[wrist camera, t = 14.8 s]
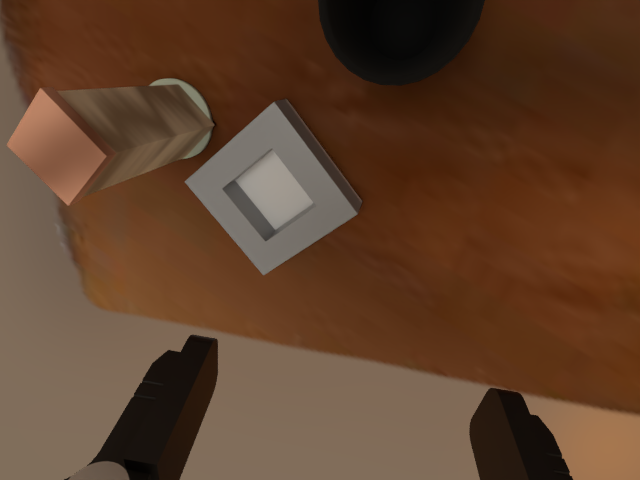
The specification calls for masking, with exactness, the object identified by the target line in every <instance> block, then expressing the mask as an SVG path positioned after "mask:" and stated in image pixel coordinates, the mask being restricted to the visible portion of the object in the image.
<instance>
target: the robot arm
mask: <svg viewBox="0 0 640 480" xmlns="http://www.w3.org/2000/svg"><path fill="white" fill-rule="evenodd" d="M217 375H218V341H217V339H215V338H209V337H203V336H197V335H190V337H189V338H188V339H187V341H186V343H185V345H184V347H183V349H182V351H181V352H176V351H171V350H168V351H167V352H165V353H164V354H163V355H162V356H161V357H159V358H158V359H157V360H156V361H155V362H153V363H152V365H151V367H150V368H149V370H148V372H147V373H146V375H145V377H144V378H143V381H142V383H140V385H139V387H138V388H137V390H136V392H135V393H134V397H133V398H131V400H130V402H129V403H128V405H127V407H126V408H125V410H124V412H123V413H122V415H121V417H120V419H119V420H118V422H117V424H116V425H115V427H114V429H113V430H112V432H111V433H110V435H109V437H108V439H107V440H106V442H105V443H104V445H103V447H102V449H101V450H100V452H99V453H98V454H97V456H96V457H95V458H94V459H93V461H92V462H91V463H89V464H88V465H87V466H86V467H84V468H82V469H81V470H79V471H78V472H76V473H75V474H74V475H73V476H71V477H69V478H67V479H64V480H179V479H180V477H181V474H182V472H183V469H184V467H185V464H186V462H187V459H188V456H189V454H190V451H191V449H192V446H193V444H194V441H195V439H196V436H197V434H198V431H199V428H200V426H201V423H202V421H203V418H204V416H205V413H206V411H207V408H208V405H209V403H210V400H211V398H212V395H213V392H214V389H215V385H216V381H217ZM470 441H471V445H472V449H473V453H474V457H475V461H476V465H477V469H478V473H479V477H480V480H573V479H572V476H570V475H569V472H570V471H569V469H568V467H567V465H566V463H565V460H564V459H562V454H561V452H560V449H559V447H558V445H557V443H556V441H555V438H554V436H553V434H552V433H551V432H550V430H549V429H548V428H547V427H546V425H545V424H544V423H543V422H542V420H541V419H540V418H539V417H538V416H536V415H530V413H529V410H528V408H527V405H526V403H525V401H524V398H523V397H522V395H521V394H520V393H518V392H513V391H507V390H501V389H496V388H490V389H489V390H488V391H487V393H486V394H485V396H484V398H483V400H482V401H481V403H480V405H479V406H478V408H477V410H476V412H475V413H474V415H473V417H472V419H471V422H470Z"/></svg>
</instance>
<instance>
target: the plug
mask: <svg viewBox="0 0 640 480" xmlns="http://www.w3.org/2000/svg"><path fill="white" fill-rule="evenodd" d="M214 126H215V125H214V123H213V122H212V121H211V120H210V119H209V118H208V117H207V116H206V114H205V113H204V112H203V111H202V110H201V109H200V108H199V107H198V105H197V104H196V103H195V102H194V101H193V100H192V99H191V97H190V96H189V95H188V94H187V93H186V92H185V91H184V90H183V88H182V87H181V86H180V85H179V84H174V85H156V86H139V87H121V88H103V89H86V90H68V91H56V90H55V89H54V88H53V87H48V88H40V90H39V91H38V93H37V95H36V96H35V98H34V100H33V101H32V103H31V105H30V106H29V108H28V110H27V111H26V113H25V115H24V116H23V118H22V120H21V122H20V123H19V125H18V127H17V128H16V130H15V132H14V134H13V135H12V137H11V138H10V140H9V142H8V143H7V146H8V147H9V148H10V149H11V150H12V151H13V152H14V153H15V154H16V155H17V156H18V157H19V158H20V159H21V160H22V161H23V162H24V163H25V164H26V165H27V166H28V167H29V168H30V169H31V170H32V171H33V172H34V173H35V174H37V176H38V177H39V178H40V179H41V180H43V182H44V183H45V184H47V185H48V186H49V187H50V188H51V189H52V190H53V191H54V192H55V193H56V194H57V195H58V196H59V197H60V198H61V199H62V200H63V201H64V202H65V203H66V204H67V205H68V206H69V205H72V204H74V203H77V202H79V200H80V199H81V198H82V197H83V196H86V195H89V194H91V193H94V192H96V191H99V190H102V189H104V188H107V187H109V186H112V185H115V184H117V183H120V182H122V181H125V180H128V179H130V178H133V177H135V176H138V175H141V174H143V173H146V172H148V171H151V170H154V169H156V168H159V167H161V166H164V165H167V164H169V163H172V162H174V161H177V160H180V159H182V158H185V157H186V156H187V155H188V154H189V153H190V152H191V151H192V150H193V149H194V147H195V146H196V145H197V144H198V143H199V142H200V141H201V140H202V139H203V138H204V137H205V135H206V134H207V133H208V132H209V131H210V130H211V129H212V128H213V127H214Z"/></svg>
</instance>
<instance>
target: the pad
mask: <svg viewBox="0 0 640 480" xmlns="http://www.w3.org/2000/svg"><path fill="white" fill-rule="evenodd" d="M174 84H179V85H180V86H181V87H182V88H183V90H184V91H185V92H186V93H187V94H188V95H189V96H190V97H191V99H192V100H193V101H194V102H195V103H196V104H197V105H198V107H199V108H200V109H201V110H202V111H203V112H204V113H205V114H206V116H207V117H208V118H209V119H210V120H211V121H212V122H213V120H212V114H211V111H210V108H209V106H208V104H207V102H206V100H205V98H204V97H203V96H202V94H201V93H200V92H199V91H198V90H197V89H196V88H195V87H193V86H192V85H191V84H189V83H187V82H185V81H183V80H179V79H173V78H168V79H161V80H157V81H155V82H153V83H152V84H150V85H149V86H156V85H174ZM212 131H213V128H212V129H211V130H210V131H209V132H208V133H207V134H206V135H205V137H204V138H203V139H202V140H201V141H200V142H199V143H198V144H197V145H196V146H195V147H194V149H193V150H192V151H191V152H190V153H189V154H188V155H187V156H186V157H185V158H182V159H186V158H190V157H193V156H195V155H197V154H199V153H201V152H202V151H203V150H204V149H205V148H206V147H207V145H208V143H209V141H210V139H211V136H212Z"/></svg>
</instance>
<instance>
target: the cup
mask: <svg viewBox="0 0 640 480" xmlns="http://www.w3.org/2000/svg"><path fill="white" fill-rule="evenodd" d="M484 1H485V0H318V3H319V15H320V22H321V25H322V28H323V31H324V35H325V38H326V40H327V42H328V44H329V46H330V47H331V49H332V51H333V53H334V54H335V56H336V57H337V58H338V59H339V60H340V62H341V63H342V64H343V65H344V66H345V67H346V68H347V69H348V70H349V71H351V72H353V73H354V74H356V75H357V76H359V77H361V78H362V79H364V80H367V81H370V82H374V83H377V84H380V85H404V84H409V83H413V82H417V81H420V80H422V79H424V78H426V77H428V76H430V75H432V74H434V73H436V72H438V71H439V70H440V69H442V68H443V67H444V66H445V65H447V64H448V63H449V62H450V61H451V60H453V59H454V58H455V57H456V55H457V54H458V53H459V52H460V50H461V49H462V48H463V47H464V45H465V44H466V43H467V42H468V40H469V39H470V37H471V35H472V33H473V31H474V29H475V27H476V25H477V23H478V21H479V19H480V15H481V12H482V8H483V5H484Z"/></svg>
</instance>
